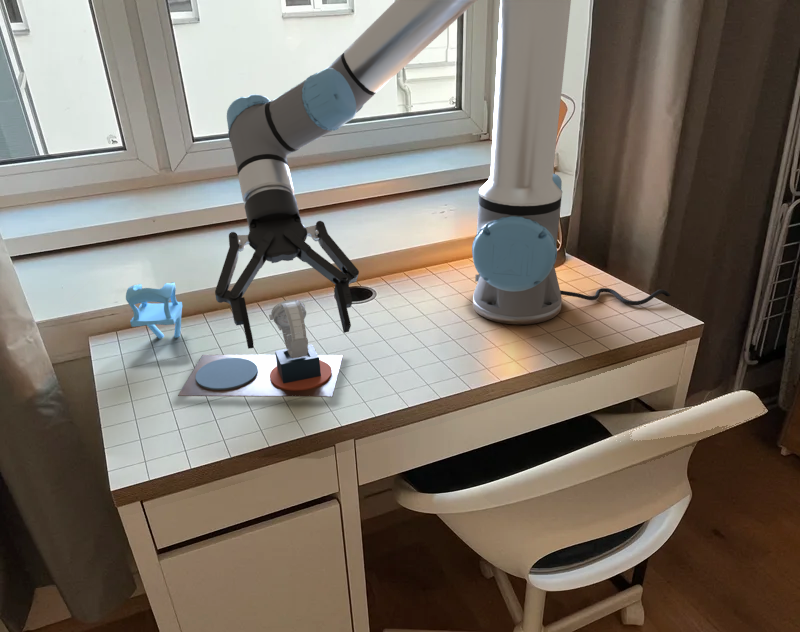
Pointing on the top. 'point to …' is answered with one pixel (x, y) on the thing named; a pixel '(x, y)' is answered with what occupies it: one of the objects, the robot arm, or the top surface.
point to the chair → (155, 308)
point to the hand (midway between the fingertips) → (299, 337)
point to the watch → (294, 343)
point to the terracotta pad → (304, 383)
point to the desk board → (262, 379)
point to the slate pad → (226, 373)
